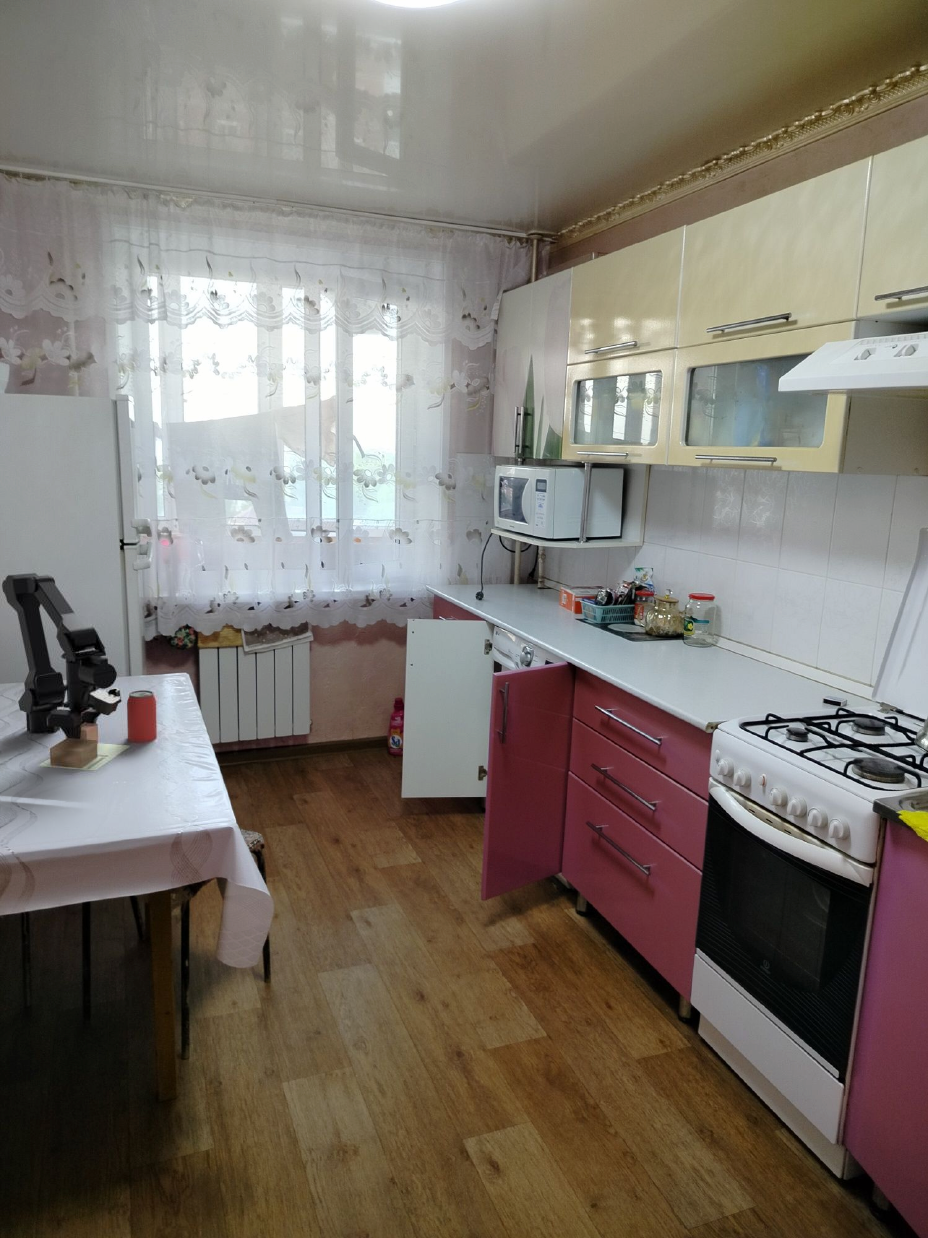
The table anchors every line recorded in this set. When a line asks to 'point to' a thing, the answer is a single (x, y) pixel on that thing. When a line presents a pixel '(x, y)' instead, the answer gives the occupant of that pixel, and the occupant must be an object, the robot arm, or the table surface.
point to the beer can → (141, 716)
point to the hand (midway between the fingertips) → (82, 744)
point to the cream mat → (103, 753)
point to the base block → (73, 753)
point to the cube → (89, 731)
